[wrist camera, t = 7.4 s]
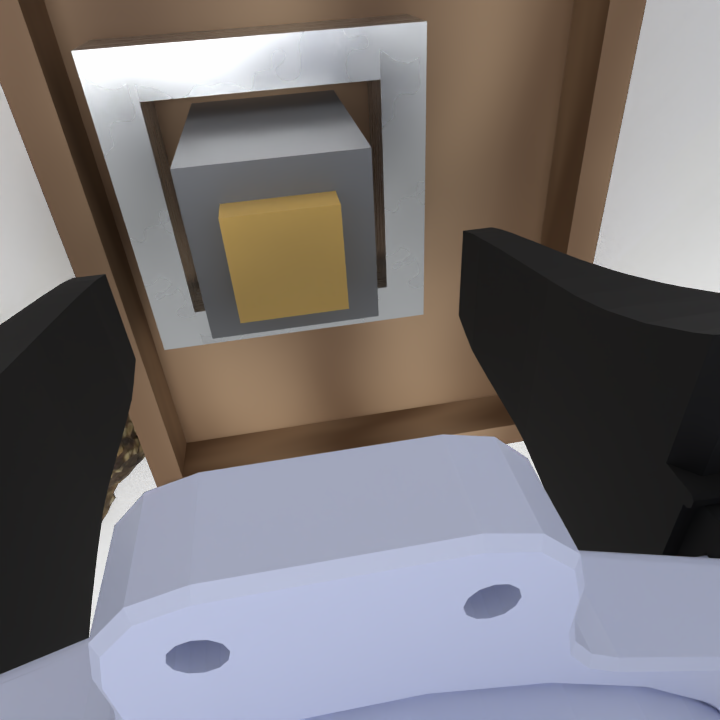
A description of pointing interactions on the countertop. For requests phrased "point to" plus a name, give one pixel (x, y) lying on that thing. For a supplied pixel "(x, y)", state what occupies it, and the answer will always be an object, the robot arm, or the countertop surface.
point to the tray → (442, 150)
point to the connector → (278, 212)
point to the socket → (246, 74)
